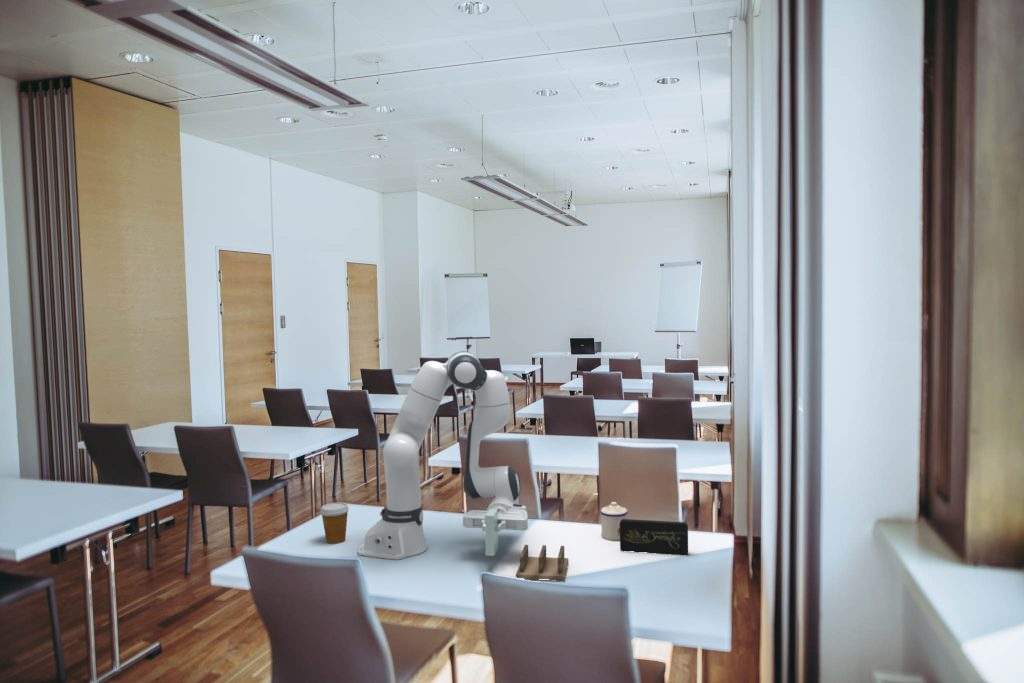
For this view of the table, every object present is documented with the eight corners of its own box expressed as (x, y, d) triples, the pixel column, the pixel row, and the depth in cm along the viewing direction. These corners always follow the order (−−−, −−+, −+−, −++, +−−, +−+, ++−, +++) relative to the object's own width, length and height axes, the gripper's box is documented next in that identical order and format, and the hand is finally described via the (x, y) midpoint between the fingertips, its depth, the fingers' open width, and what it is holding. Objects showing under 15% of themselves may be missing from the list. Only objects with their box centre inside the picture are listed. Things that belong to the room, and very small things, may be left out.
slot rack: (515, 579, 194) (515, 559, 193) (523, 561, 207) (522, 542, 207) (564, 581, 191) (563, 560, 191) (568, 563, 205) (568, 543, 205)
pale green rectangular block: (485, 555, 200) (485, 515, 199) (490, 547, 207) (489, 508, 206) (493, 555, 199) (493, 515, 199) (498, 547, 206) (497, 508, 206)
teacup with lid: (622, 542, 221) (621, 507, 221) (596, 538, 226) (596, 504, 225) (634, 531, 232) (634, 498, 231) (610, 528, 236) (609, 495, 236)
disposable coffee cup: (350, 543, 227) (348, 508, 227) (321, 546, 225) (319, 511, 225) (349, 534, 237) (348, 501, 236) (321, 537, 234) (320, 503, 234)
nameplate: (688, 553, 210) (687, 522, 210) (688, 556, 208) (687, 524, 208) (620, 549, 216) (620, 518, 215) (620, 551, 214) (619, 520, 213)
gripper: (468, 503, 217) (457, 516, 203) (530, 506, 214) (524, 519, 200) (468, 522, 217) (457, 537, 204) (530, 525, 214) (524, 540, 200)
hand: (491, 528), depth 202 cm, fingers closed on pale green rectangular block, 2 cm apart
